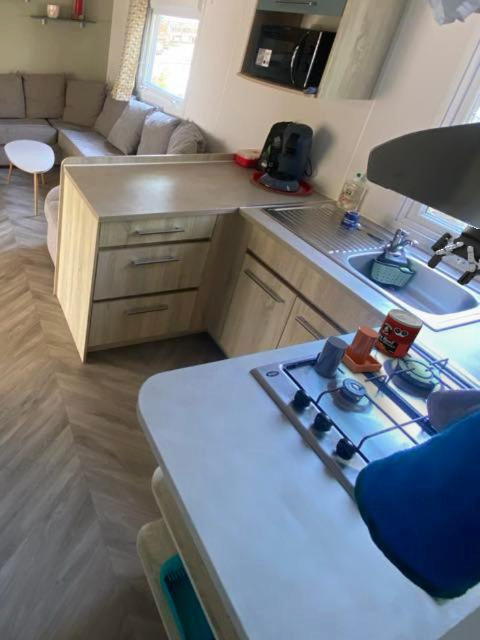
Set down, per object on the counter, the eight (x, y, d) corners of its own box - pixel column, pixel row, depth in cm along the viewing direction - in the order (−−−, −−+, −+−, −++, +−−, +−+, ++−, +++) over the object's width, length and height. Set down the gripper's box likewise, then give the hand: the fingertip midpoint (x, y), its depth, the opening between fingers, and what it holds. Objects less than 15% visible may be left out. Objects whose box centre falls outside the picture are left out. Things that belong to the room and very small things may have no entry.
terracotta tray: (379, 371, 108) (382, 365, 108) (353, 372, 107) (356, 366, 106) (356, 349, 115) (359, 344, 115) (332, 350, 114) (334, 344, 113)
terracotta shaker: (369, 364, 110) (383, 337, 106) (354, 365, 108) (368, 337, 105) (356, 352, 114) (369, 325, 110) (342, 352, 112) (355, 325, 109)
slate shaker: (338, 377, 104) (352, 348, 100) (322, 377, 103) (336, 349, 99) (326, 363, 108) (339, 335, 104) (310, 364, 107) (323, 336, 103)
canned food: (367, 339, 121) (383, 307, 117) (392, 340, 122) (408, 309, 118) (385, 357, 114) (403, 325, 110) (412, 359, 115) (430, 327, 111)
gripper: (456, 210, 115) (413, 257, 119) (512, 232, 102) (463, 284, 107) (469, 221, 118) (427, 267, 122) (526, 244, 105) (477, 294, 109)
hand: (444, 275), depth 114 cm, fingers open, 8 cm apart
